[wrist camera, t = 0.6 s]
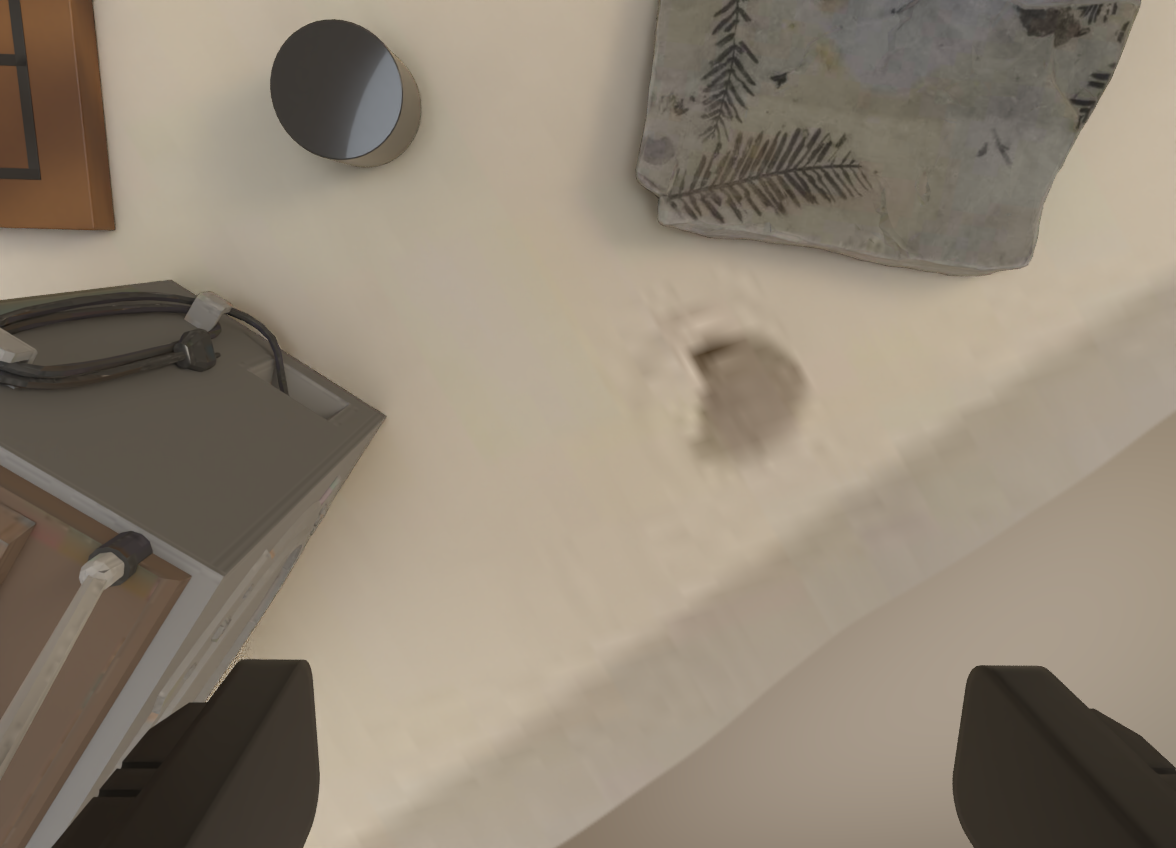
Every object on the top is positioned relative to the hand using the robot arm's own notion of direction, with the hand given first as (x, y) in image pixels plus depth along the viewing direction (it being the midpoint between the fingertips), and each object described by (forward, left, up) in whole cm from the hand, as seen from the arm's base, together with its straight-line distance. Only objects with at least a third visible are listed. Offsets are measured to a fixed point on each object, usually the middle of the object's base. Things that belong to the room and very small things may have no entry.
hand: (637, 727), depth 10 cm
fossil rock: (-12, +11, -26) cm, 30 cm away
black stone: (-10, -9, -25) cm, 29 cm away
